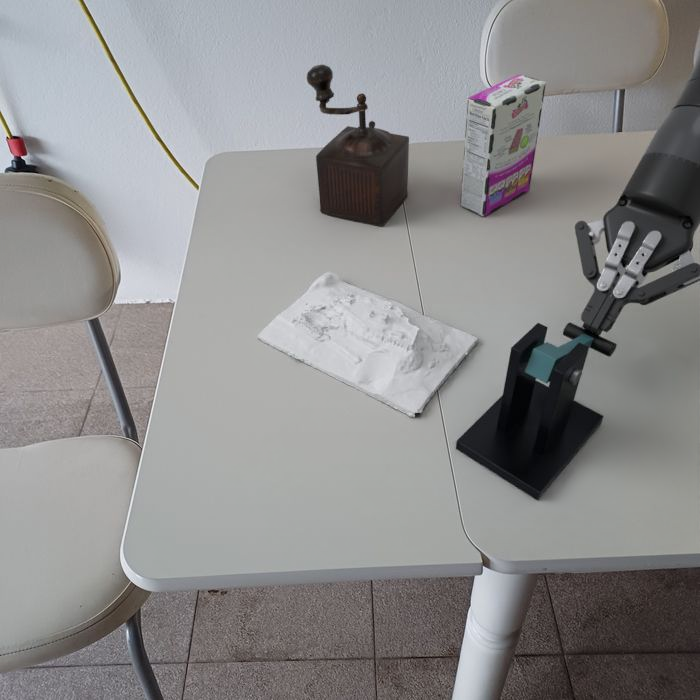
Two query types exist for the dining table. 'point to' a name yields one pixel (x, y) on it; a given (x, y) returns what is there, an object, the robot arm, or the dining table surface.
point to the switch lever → (564, 351)
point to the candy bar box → (500, 143)
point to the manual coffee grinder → (359, 163)
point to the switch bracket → (533, 421)
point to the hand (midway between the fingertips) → (591, 331)
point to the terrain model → (369, 342)
